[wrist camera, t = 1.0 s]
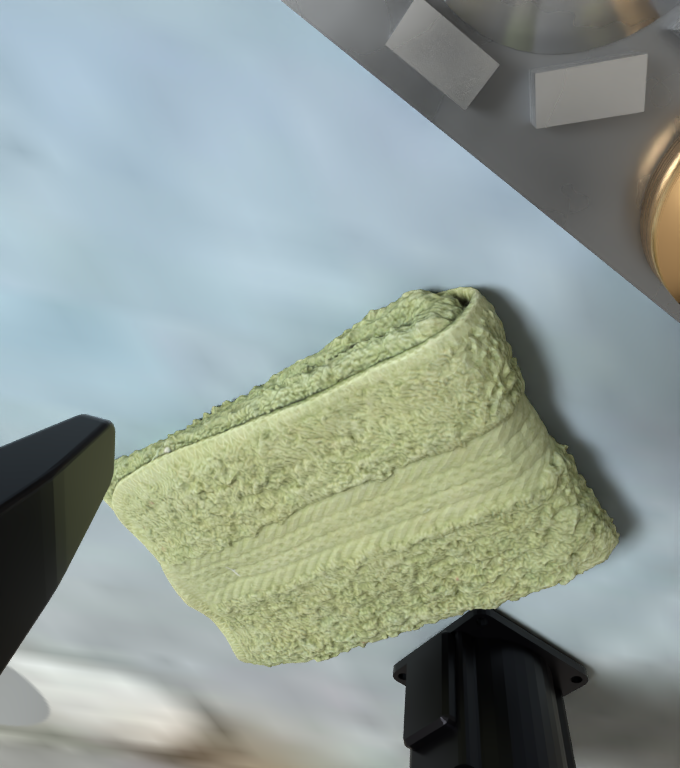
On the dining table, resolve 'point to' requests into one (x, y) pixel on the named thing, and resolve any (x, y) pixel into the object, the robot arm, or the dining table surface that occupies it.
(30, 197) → the dining table surface
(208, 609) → the washcloth
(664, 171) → the bronze flanged knob
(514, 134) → the carrier plate
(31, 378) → the dining table surface
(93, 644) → the dining table surface
